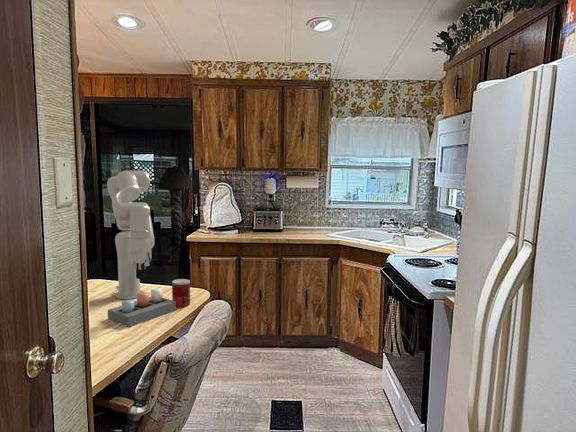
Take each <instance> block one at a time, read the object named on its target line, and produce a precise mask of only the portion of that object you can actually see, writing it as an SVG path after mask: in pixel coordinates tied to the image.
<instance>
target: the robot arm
mask: <svg viewBox="0 0 576 432" xmlns="http://www.w3.org/2000/svg"><path fill="white" fill-rule="evenodd" d="M150 177H151V176H150V175H149V174H148V173H147V172H146V171H144V170H122V171H120V172H119V173H118V174H117V175H116V176H115V175H114V176H113V175H112V176H111V177H109V178H108V179H107V184H106V185H107V186H106V187H107V191H108V195H109V197H110V199H111V201H112V202H111V204H112V205H111V206H112V211H113V215H114V218H115V221H116V227H117V228H118V230H121V231H119V232H118V233H116V235H115V237H114V242H115V248H116V254H117V273H118V275H117V277H118V279H117V280H118V283H117V284H118V285H116V287H115V289H117V292H116V293H115V298H116V299H118V300H134V299H137V294H138V293H141V292H144V291H143V290H141V283H140V281H141V279H144V278H146V269H147V267H149V266H150V265H151V264H150V262H151V261H152V249H153V248H154V246H155V235H154V228H153V222H152V217H151V208H150V206H149V204H148V203H147V202H134V201H135V200H137V199H138V198H139V197H140V196H141V193H144V192H146V191H147V189H149V187H150V186H151V185H150V184H151V178H150Z"/></svg>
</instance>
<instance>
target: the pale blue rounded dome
mask: <svg viewBox="0 0 576 432" xmlns="http://www.w3.org/2000/svg"><path fill="white" fill-rule="evenodd" d="M134 302H135V300H134V299H123V301H121V306H122V313H125V314H127V313H130V312H133V311H134Z"/></svg>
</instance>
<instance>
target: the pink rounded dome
mask: <svg viewBox="0 0 576 432" xmlns="http://www.w3.org/2000/svg"><path fill="white" fill-rule="evenodd" d="M149 297H150V294H149V292H147V291H146V292H144V291H143V292H141V293H138V294H137V298H136V301H137V305H138V306H146V305H148V304H149Z"/></svg>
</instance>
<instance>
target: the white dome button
mask: <svg viewBox="0 0 576 432" xmlns="http://www.w3.org/2000/svg"><path fill="white" fill-rule="evenodd" d="M150 297H151V301H153V302H158V301H162V298H163V288H160V287H159V288H157V287H156V288H152V289H151V290H150Z"/></svg>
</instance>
